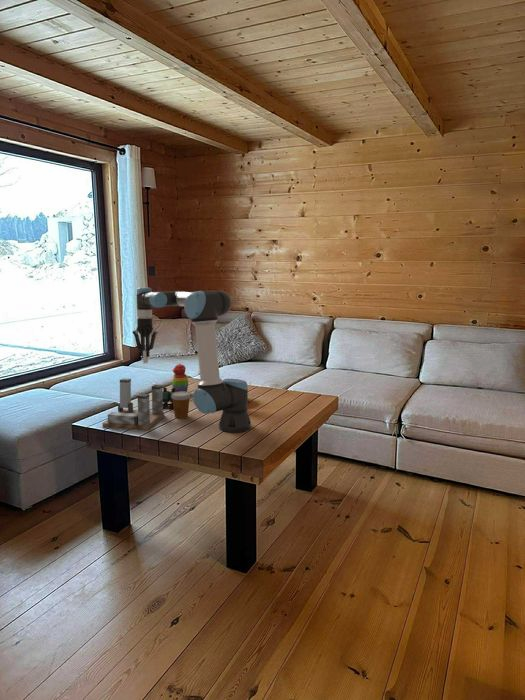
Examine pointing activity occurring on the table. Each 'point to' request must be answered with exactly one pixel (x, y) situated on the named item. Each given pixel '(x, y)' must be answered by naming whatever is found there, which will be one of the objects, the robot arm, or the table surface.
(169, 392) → the binoculars
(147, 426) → the grey block structure
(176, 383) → the stacking bear
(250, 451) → the table surface
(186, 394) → the disposable coffee cup
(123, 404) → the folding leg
